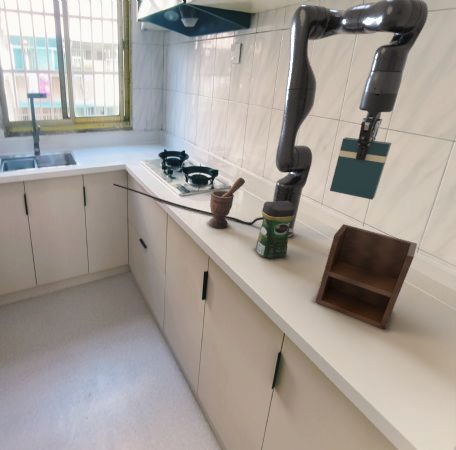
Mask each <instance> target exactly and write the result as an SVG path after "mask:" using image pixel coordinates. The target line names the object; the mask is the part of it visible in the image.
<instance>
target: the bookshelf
mask: <svg viewBox="0 0 456 450" xmlns="http://www.w3.org/2000/svg"><path fill="white" fill-rule="evenodd" d="M417 245H418V243H416V242H413V241H409V240H405V239H401V238H398V237H394V236H391V235H387V234H383V233H378V232H375V231H371V230H367V229H364V228H360V227H357V226H356V227H355V226H352V225H348V224H343V223H342V225H341V226H340V227H339V229H338V230H337V231H336V232H335V233H334V234H333V238H332V242H331V246H330V248H329V253H328V255H327V259H326V263H325V267H324V270H323V274H322V277H321V281H320V284H319V288H318V292H317V296H316V299H315V303H317V304H319V305H321V306H324V307H327V308H329V309H331V310H334V311H337V312H339V313H341V314H344V315H347V316H349V317H351V318H354V319H356V320H359V321H362V322H364V323H367V324H368V325H371V326H374V327H377V328H379V329H381V330H384V331H385V330H386V327H387V325H388V324H389V323H388V322H389V320H390V317H391V315H392V312H393V310H394V308H395V305H396V303H397V300H398V298H399V295H400V293H401V290H402V288H403V286H404V282H405V280H406V278H407V275H408V273H409V270H410V268H411V265H412V262H413V260H414V258H415V254H416V250H417Z"/></svg>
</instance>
